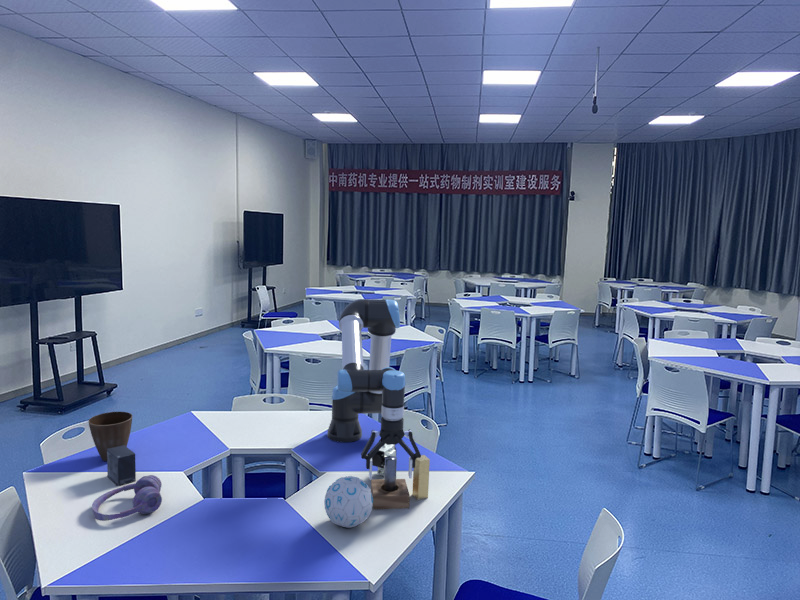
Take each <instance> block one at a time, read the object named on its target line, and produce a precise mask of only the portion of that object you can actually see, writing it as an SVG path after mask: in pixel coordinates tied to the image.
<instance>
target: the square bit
mask: <svg viewBox="0 0 800 600" xmlns="http://www.w3.org/2000/svg"><path fill="white" fill-rule="evenodd" d="M430 462H431V459H430V458H429V457H427V455H425V454H421V457H420V458H416V460H415V468H412V496H413V497H414V498H415V499H417V500H418V501H419V500H423V499H428V498H429V487H430V486H429V485H430V464H431V463H430Z"/></svg>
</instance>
